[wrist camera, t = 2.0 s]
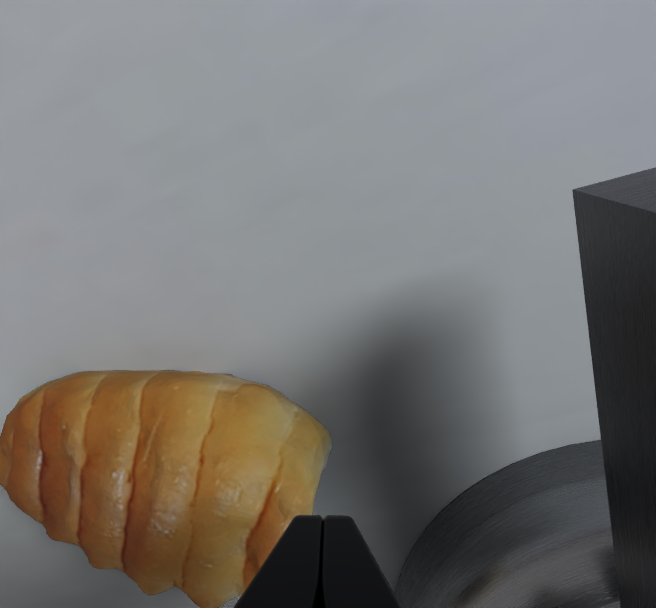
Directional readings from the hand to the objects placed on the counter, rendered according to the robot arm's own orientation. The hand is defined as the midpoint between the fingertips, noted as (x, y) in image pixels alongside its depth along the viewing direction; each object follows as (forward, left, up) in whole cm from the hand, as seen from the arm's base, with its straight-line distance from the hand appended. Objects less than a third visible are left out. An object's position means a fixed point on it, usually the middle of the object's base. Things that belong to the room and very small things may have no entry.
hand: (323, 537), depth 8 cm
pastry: (+2, +6, -8) cm, 10 cm away
